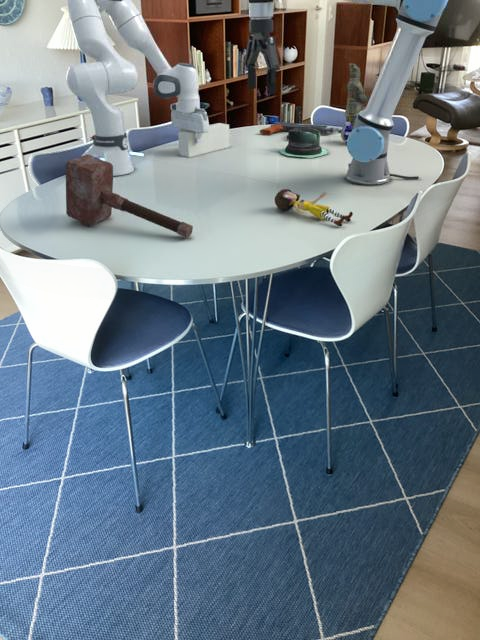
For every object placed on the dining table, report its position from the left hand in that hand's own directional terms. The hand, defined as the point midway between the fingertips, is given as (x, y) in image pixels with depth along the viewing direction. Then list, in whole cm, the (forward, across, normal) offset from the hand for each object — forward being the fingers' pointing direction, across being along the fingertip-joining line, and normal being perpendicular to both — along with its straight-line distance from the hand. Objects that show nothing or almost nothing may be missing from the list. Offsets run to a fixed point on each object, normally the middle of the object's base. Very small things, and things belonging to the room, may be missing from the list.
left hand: (191, 141), depth 234 cm
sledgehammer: (+6, -53, +69) cm, 87 cm away
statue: (+5, -26, -81) cm, 85 cm away
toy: (+5, -42, -60) cm, 73 cm away
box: (+6, 0, -8) cm, 9 cm away
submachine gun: (+5, -10, -57) cm, 58 cm away
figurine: (+6, -86, +26) cm, 90 cm away
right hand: (-25, -50, +10) cm, 57 cm away
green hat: (+5, -34, -33) cm, 48 cm away
